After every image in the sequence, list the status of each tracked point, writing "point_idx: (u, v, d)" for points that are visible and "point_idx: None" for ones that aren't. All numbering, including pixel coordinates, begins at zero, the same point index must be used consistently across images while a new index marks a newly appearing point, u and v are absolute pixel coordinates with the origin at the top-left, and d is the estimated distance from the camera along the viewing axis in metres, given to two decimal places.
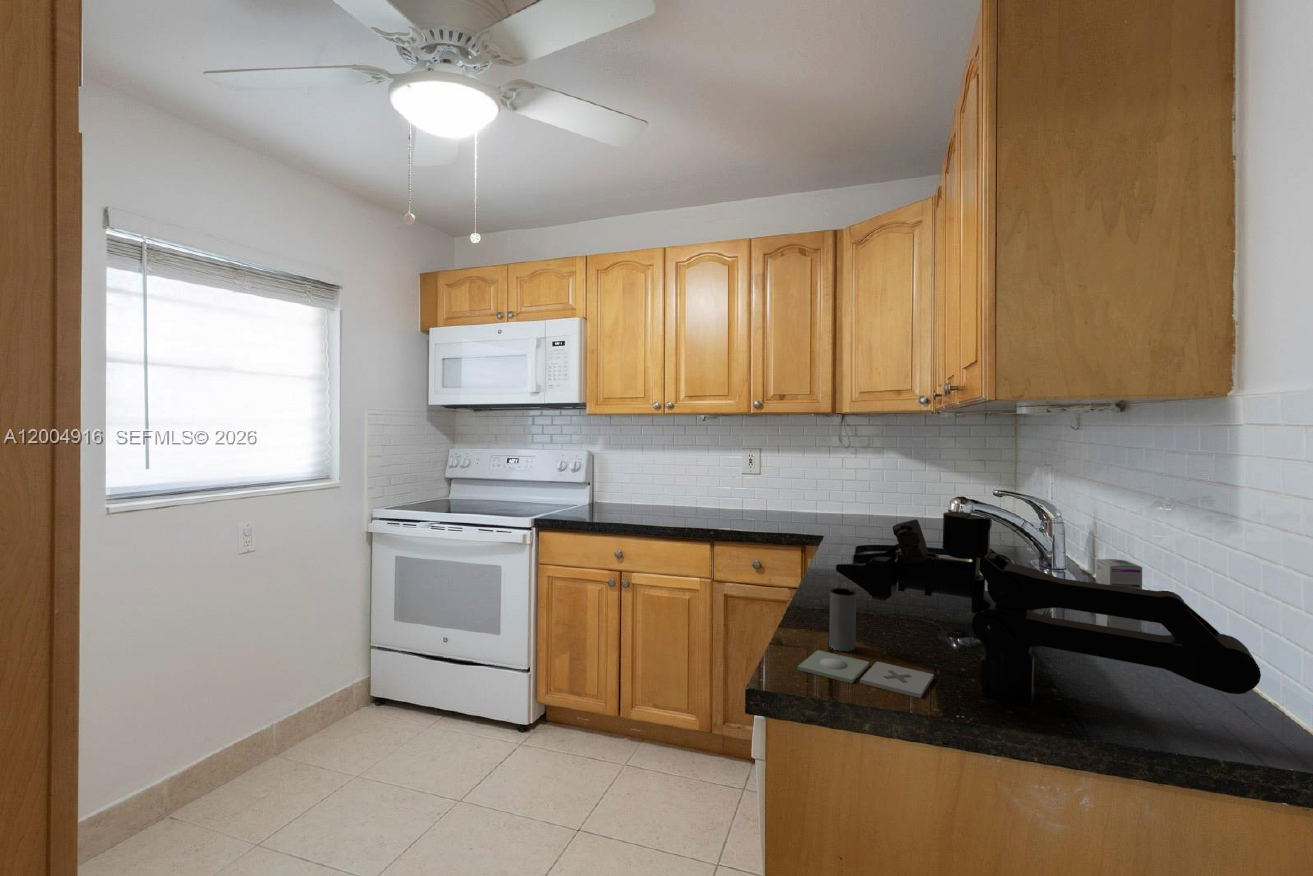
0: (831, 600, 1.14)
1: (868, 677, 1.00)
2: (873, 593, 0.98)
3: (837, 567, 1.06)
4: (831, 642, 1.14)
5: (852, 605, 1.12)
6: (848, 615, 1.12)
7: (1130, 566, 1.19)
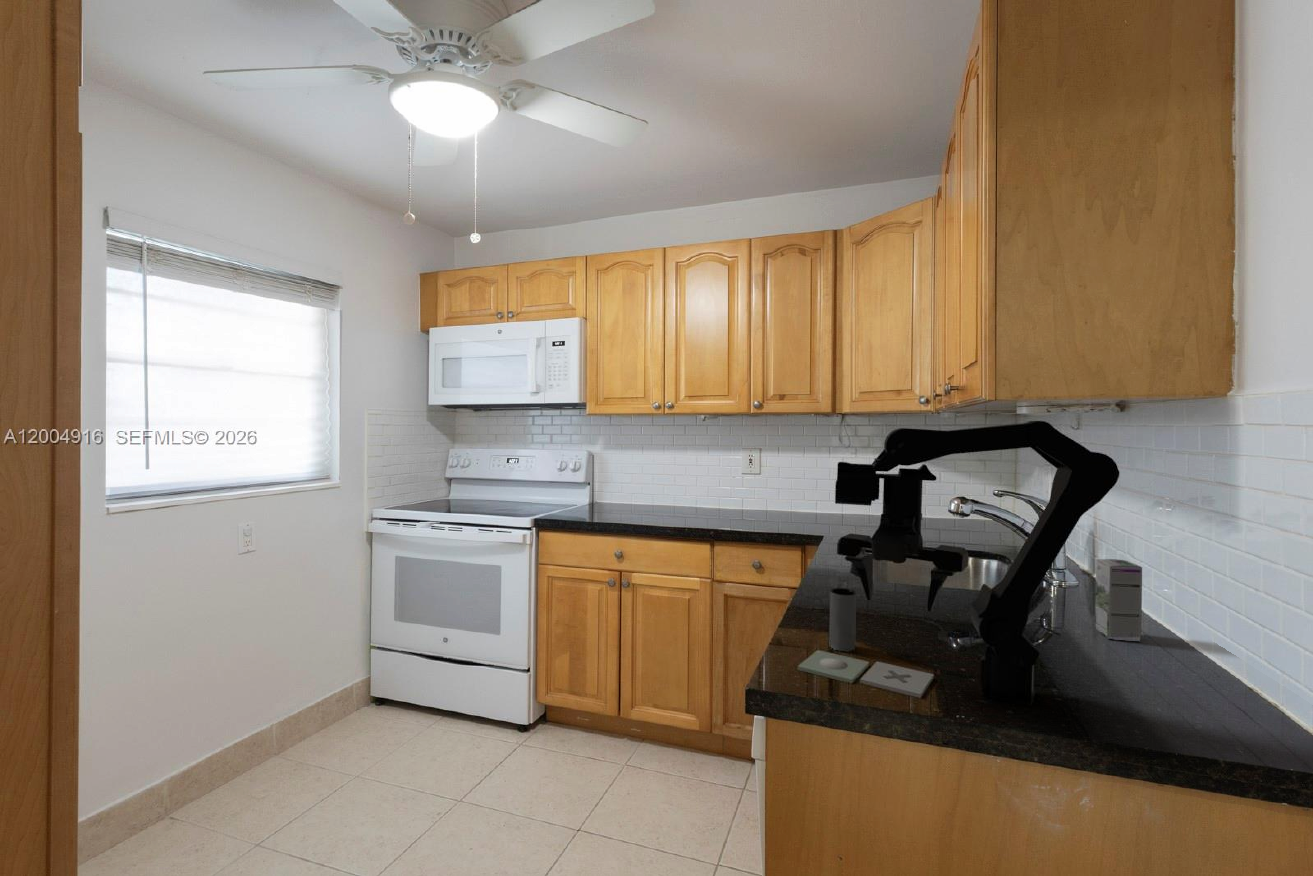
0: (831, 600, 1.14)
1: (868, 677, 1.00)
2: (967, 564, 0.96)
3: (931, 609, 0.97)
4: (831, 642, 1.14)
5: (852, 605, 1.12)
6: (848, 615, 1.12)
7: (1130, 566, 1.19)
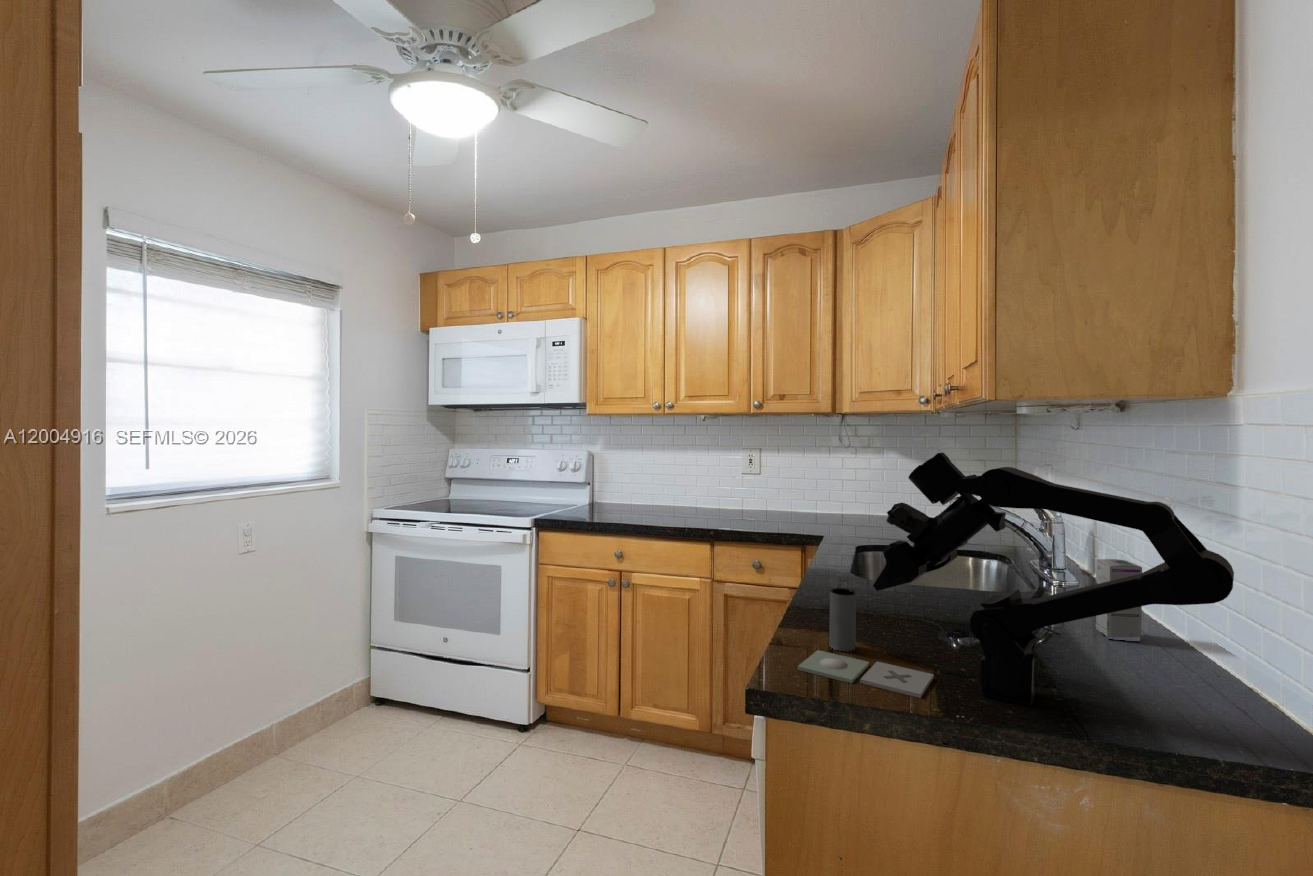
0: (831, 600, 1.14)
1: (868, 677, 1.00)
2: (904, 576, 0.97)
3: (875, 587, 1.05)
4: (831, 642, 1.14)
5: (852, 605, 1.12)
6: (848, 615, 1.12)
7: (1130, 566, 1.19)
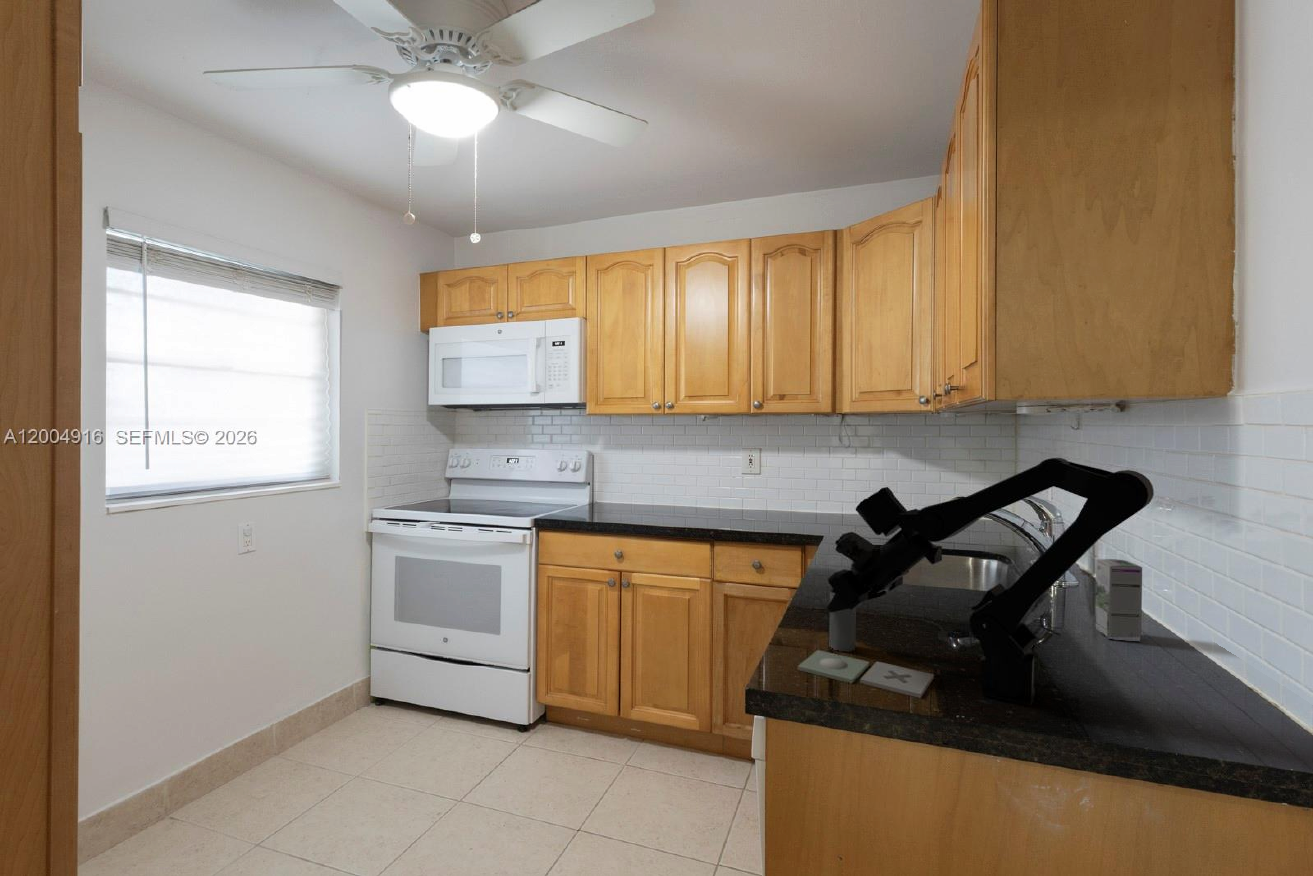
0: None
1: (868, 677, 1.00)
2: (846, 604, 1.04)
3: (829, 609, 1.13)
4: (831, 642, 1.14)
5: None
6: (848, 615, 1.12)
7: (1130, 566, 1.19)
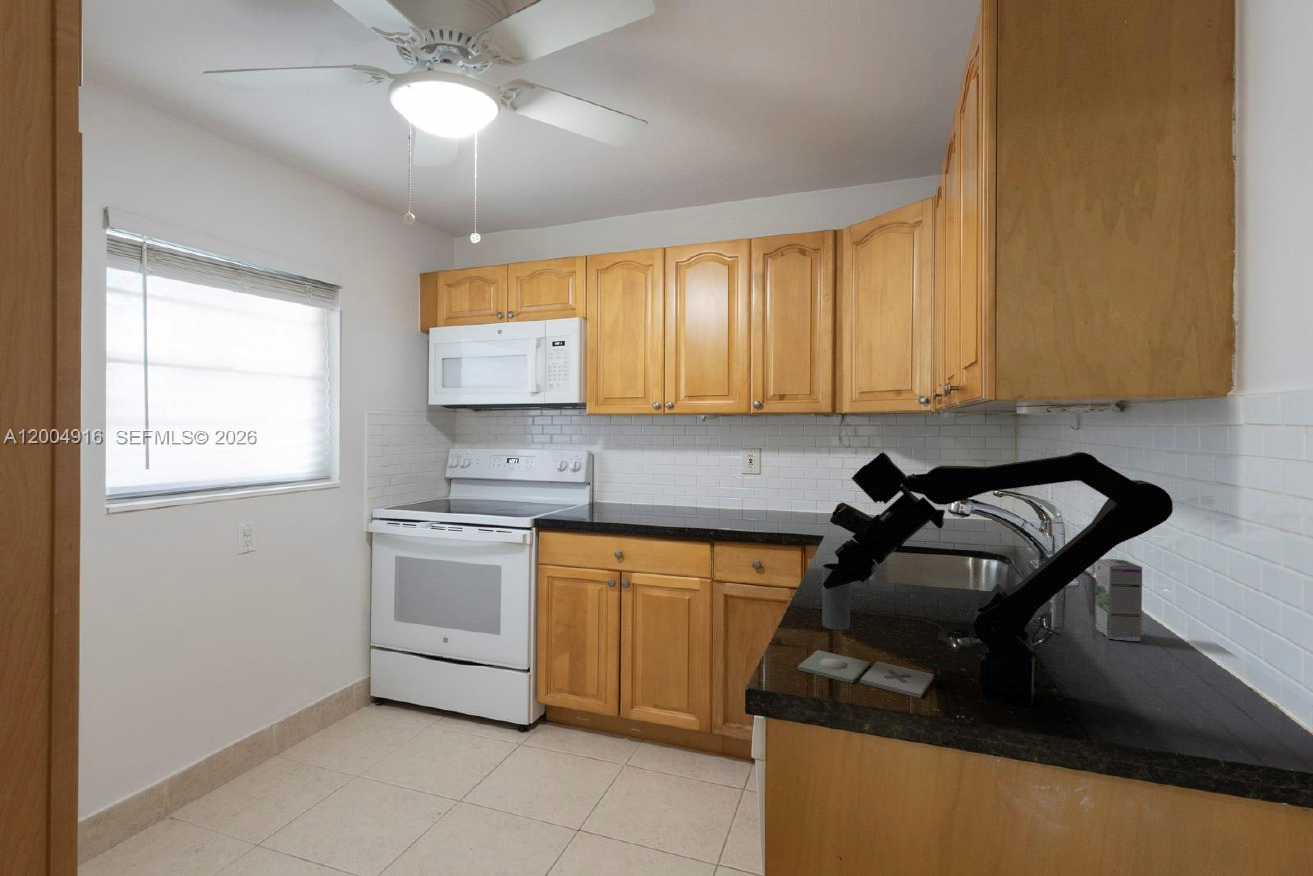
0: (825, 576, 1.07)
1: (868, 677, 1.00)
2: (858, 577, 0.97)
3: (825, 585, 1.06)
4: (827, 621, 1.06)
5: None
6: (845, 590, 1.06)
7: (1130, 566, 1.19)
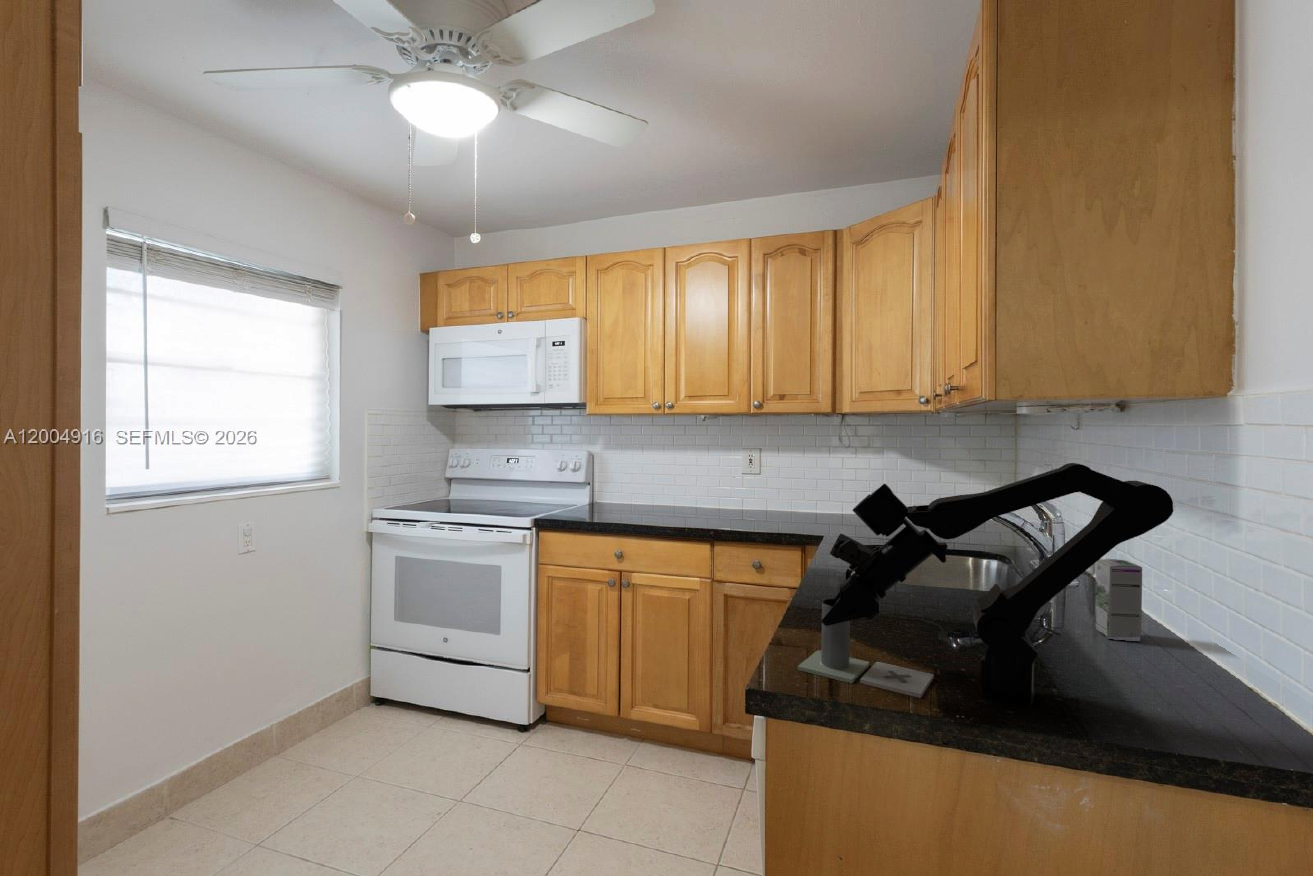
0: (826, 613, 1.04)
1: (868, 677, 1.00)
2: (865, 615, 0.94)
3: (824, 622, 1.02)
4: (827, 659, 1.03)
5: None
6: (846, 628, 1.03)
7: (1130, 566, 1.19)
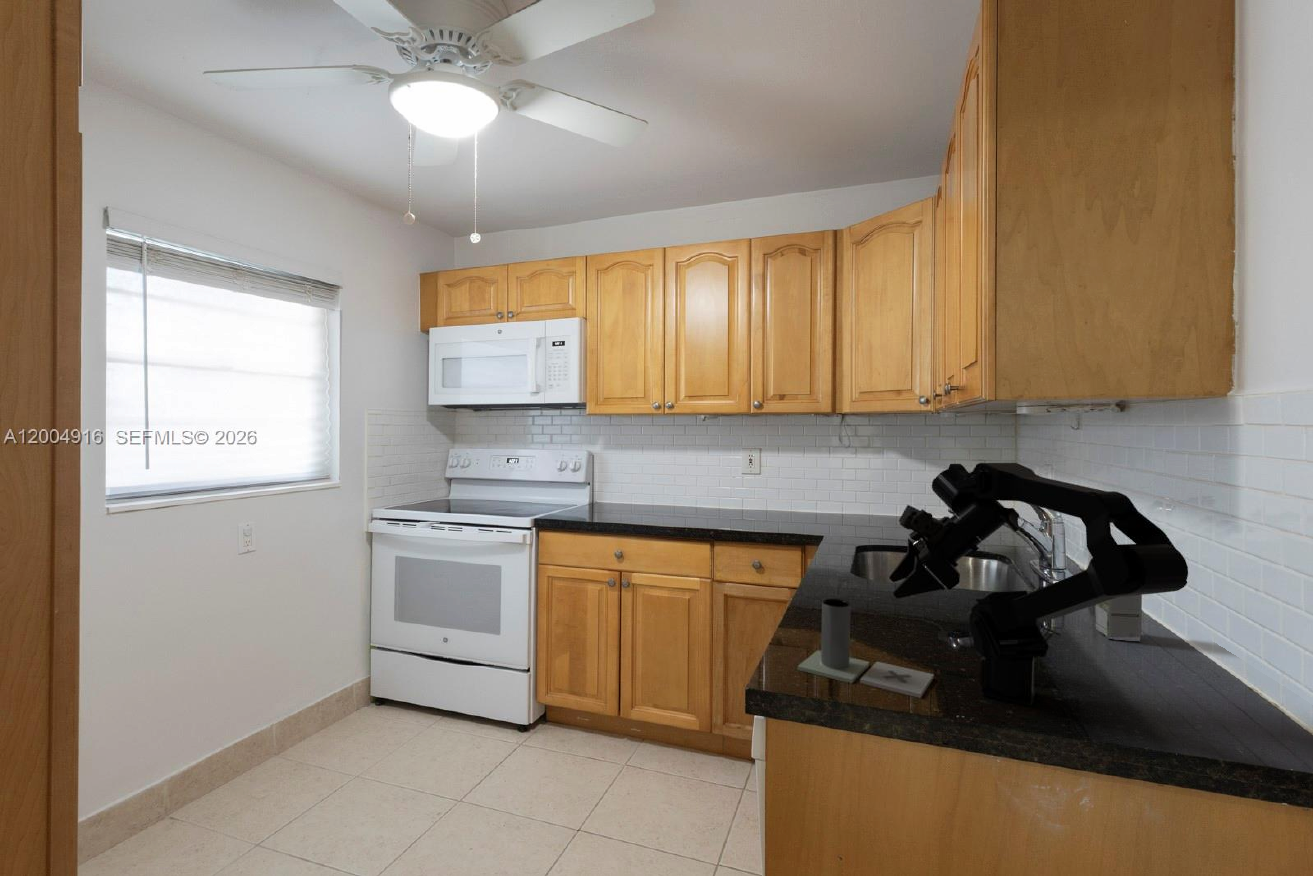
0: (826, 613, 1.04)
1: (868, 677, 1.00)
2: (946, 585, 0.95)
3: (895, 595, 1.01)
4: (827, 659, 1.03)
5: (849, 616, 1.03)
6: (846, 628, 1.03)
7: None
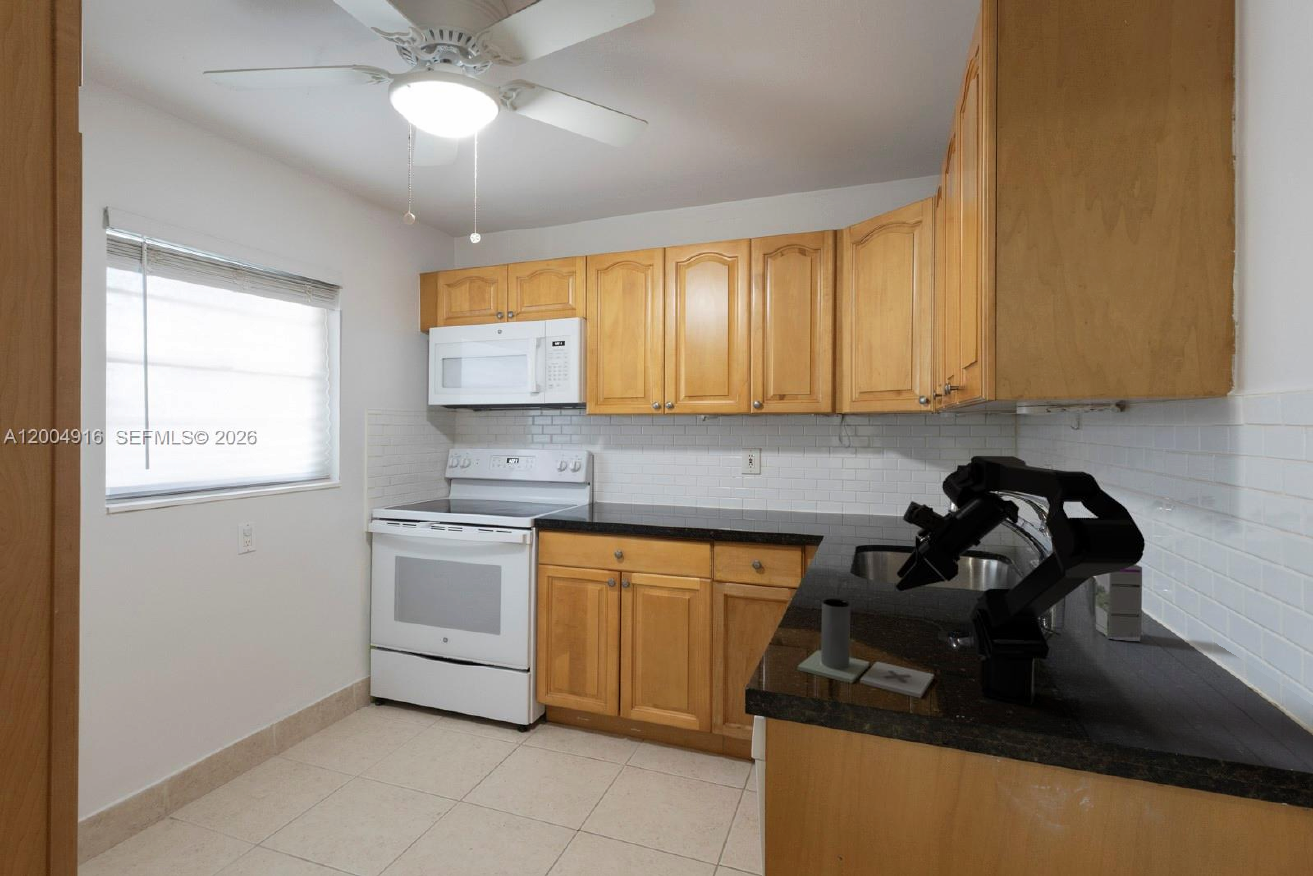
0: (826, 613, 1.04)
1: (868, 677, 1.00)
2: (945, 576, 0.97)
3: (898, 587, 1.04)
4: (827, 659, 1.03)
5: (849, 616, 1.03)
6: (846, 628, 1.03)
7: (1130, 566, 1.19)
